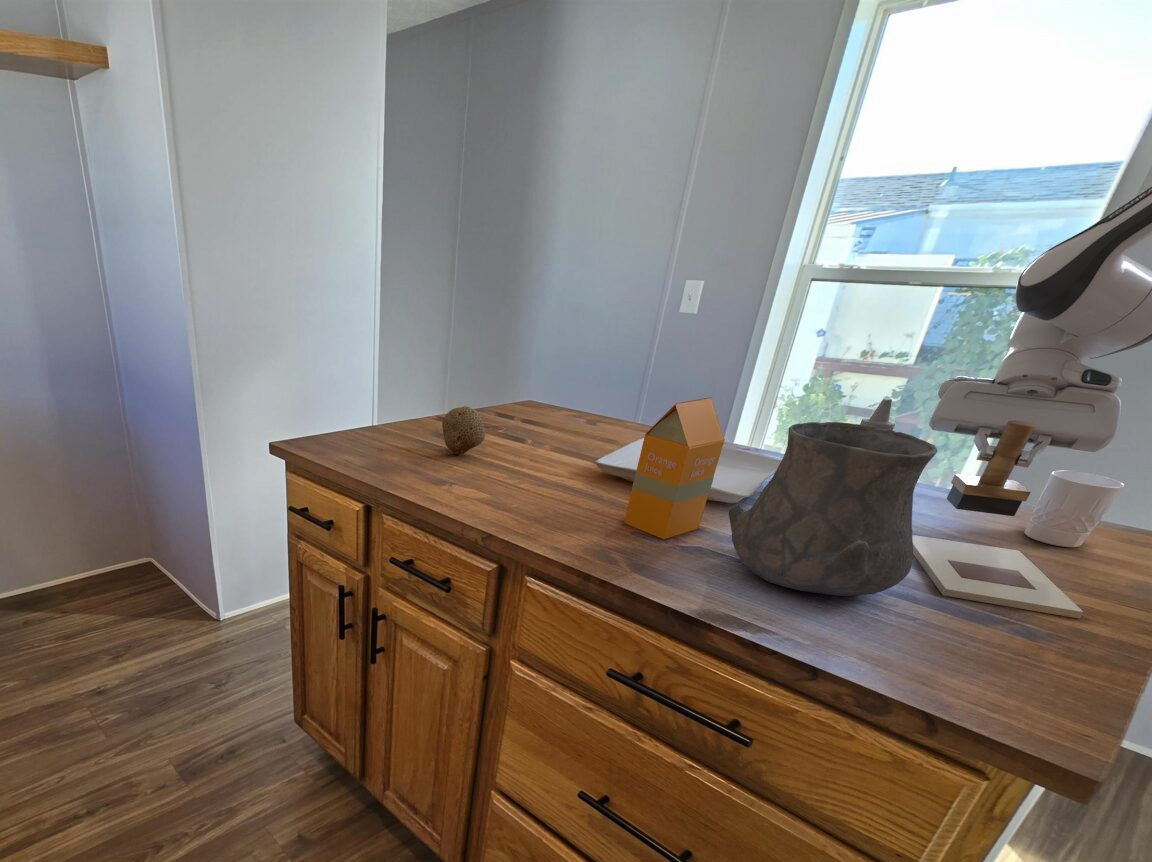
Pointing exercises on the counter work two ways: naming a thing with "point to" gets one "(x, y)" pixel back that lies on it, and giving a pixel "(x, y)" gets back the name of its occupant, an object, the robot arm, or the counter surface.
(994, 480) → the scrub brush
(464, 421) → the natural sponge
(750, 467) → the square plate
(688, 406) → the orange juice
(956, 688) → the counter surface
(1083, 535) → the white cup
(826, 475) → the vessel
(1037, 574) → the cream rectangular board
